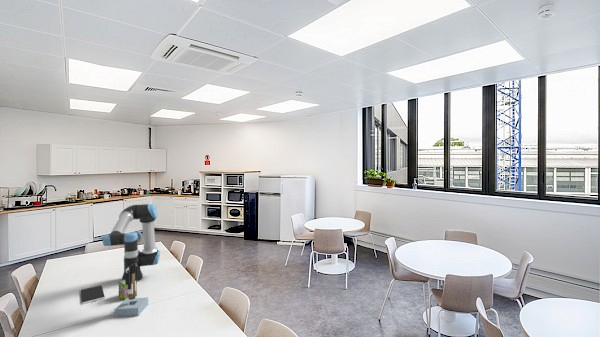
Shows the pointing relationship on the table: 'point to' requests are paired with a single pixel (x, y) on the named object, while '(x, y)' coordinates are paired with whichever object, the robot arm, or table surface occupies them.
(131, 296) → the dowel
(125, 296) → the chalk box
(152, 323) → the table surface
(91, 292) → the smartphone
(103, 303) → the table surface
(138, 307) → the socket block
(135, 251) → the robot arm
